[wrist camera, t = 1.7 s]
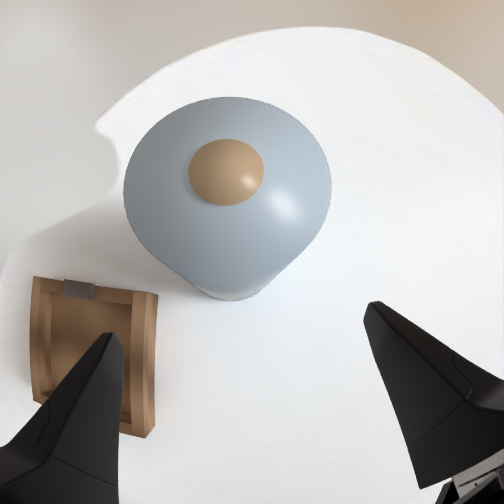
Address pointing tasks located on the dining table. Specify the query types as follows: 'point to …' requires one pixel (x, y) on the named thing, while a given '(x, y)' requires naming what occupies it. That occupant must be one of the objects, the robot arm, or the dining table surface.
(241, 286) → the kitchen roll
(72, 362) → the square wooden tray
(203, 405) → the dining table surface
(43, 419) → the robot arm
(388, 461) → the dining table surface
